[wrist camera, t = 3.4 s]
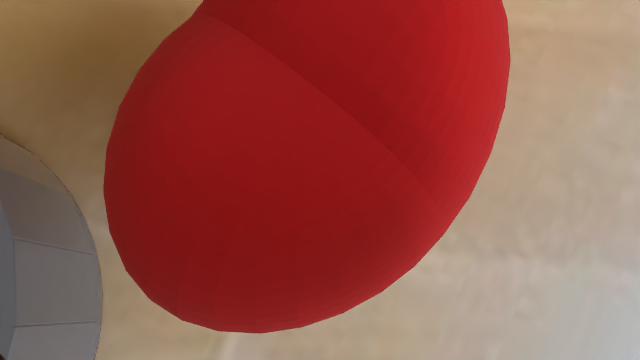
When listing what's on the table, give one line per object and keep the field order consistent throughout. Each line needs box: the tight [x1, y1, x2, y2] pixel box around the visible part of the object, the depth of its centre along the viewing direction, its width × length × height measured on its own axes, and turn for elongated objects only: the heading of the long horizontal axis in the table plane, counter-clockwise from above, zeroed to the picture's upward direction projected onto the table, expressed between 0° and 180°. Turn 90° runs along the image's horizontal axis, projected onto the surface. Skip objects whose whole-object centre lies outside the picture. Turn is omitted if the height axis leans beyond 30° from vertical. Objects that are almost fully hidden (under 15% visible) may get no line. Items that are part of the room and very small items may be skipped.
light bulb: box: [104, 0, 510, 333], centre depth 14 cm, size 9×7×10 cm
